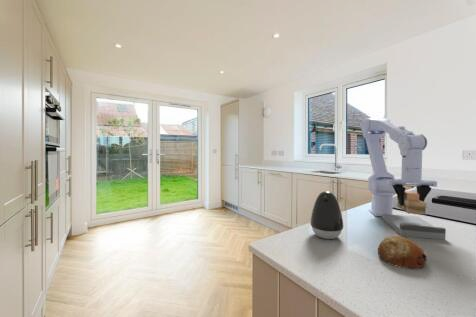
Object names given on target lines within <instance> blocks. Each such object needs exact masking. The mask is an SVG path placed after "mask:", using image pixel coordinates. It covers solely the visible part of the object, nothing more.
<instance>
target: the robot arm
mask: <svg viewBox="0 0 476 317" xmlns="http://www.w3.org/2000/svg"><path fill="white" fill-rule="evenodd" d="M360 128H361V133H362V137H363V138H364V139H365V142H366V147H367V151H368V155H369V160H370V164H371V167H372V172H373V173H372V174H371V175H370V176H369V178H368V190H369V191H370V193H371V194H372V196H371V205H370V206H371V207H370V208H369V209H368V210H369V211H370V212H371V213H372V215H373V216H374V217H375V216H376V217H383V214H388V215H395V214H394V213H393V209H394V208H393V207H394V206H393V205H394V202H393V201H394V196H395V195H396V196H397V197H398V200H399V204H400V205H403V206H404V193H405V191H406V187H405V186H412V187H414V186H415V188H416V193H418V194H419V200H420V201H423V202H425V200H426V199H427V196H428V195H429V193H430V192H432V187H433V188H434V187H435V188H437V186H438V181H437V180H426V179H422V175H423V174H422V172H423V171H422V170H423V150H425V149H427V146H428V138H427V137H426V136H425V135H424V134H422V133H420V134H416V133H414V131H410V130H407V129H406V127H405V126H404V125H401V126H396V125H395V124H393V123H392V122H391V121H390V119H389V118H387V117H375V118H374V117H373V118H372V117H370V118H367V117H365V118H364V119H363V120H362V122H361V126H360ZM386 133H387V134H388V137H389V139H390V140H392V141H393V142H395V143H396V144H397V146H398V149H399V151H400V152H399V154H400V156H401V175H400V176H401V178H400V179H398V178H395V176H394V174H392V173H390V172H389V171H388V170H387V165H386V163H385V158H384V154H383V150H382V147H381V142H380V139H382V138H384V136H385V135H386ZM398 200H397V201H398Z"/></svg>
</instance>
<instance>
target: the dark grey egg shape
mask: <svg viewBox="0 0 476 317" xmlns="http://www.w3.org/2000/svg"><path fill="white" fill-rule="evenodd" d="M340 206H341V205H340V204H339V202H338V199H337V197H336V196H335V194H333V192H331V191H324V190H323V191H322V192H320V193H319V194H318V195H317V197H316V199H315V201H314V204H313V207H312V211H311V216H310V227H311V229H312V231H313V233H314V234H315V235H316V236H317V237H319V238H322V239H325V240H333V239H336V238H338V237H339V236H340V235H341V234H342V232H343V231H342V230H343V229H344V220H343V214H342V211H341V207H340Z"/></svg>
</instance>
